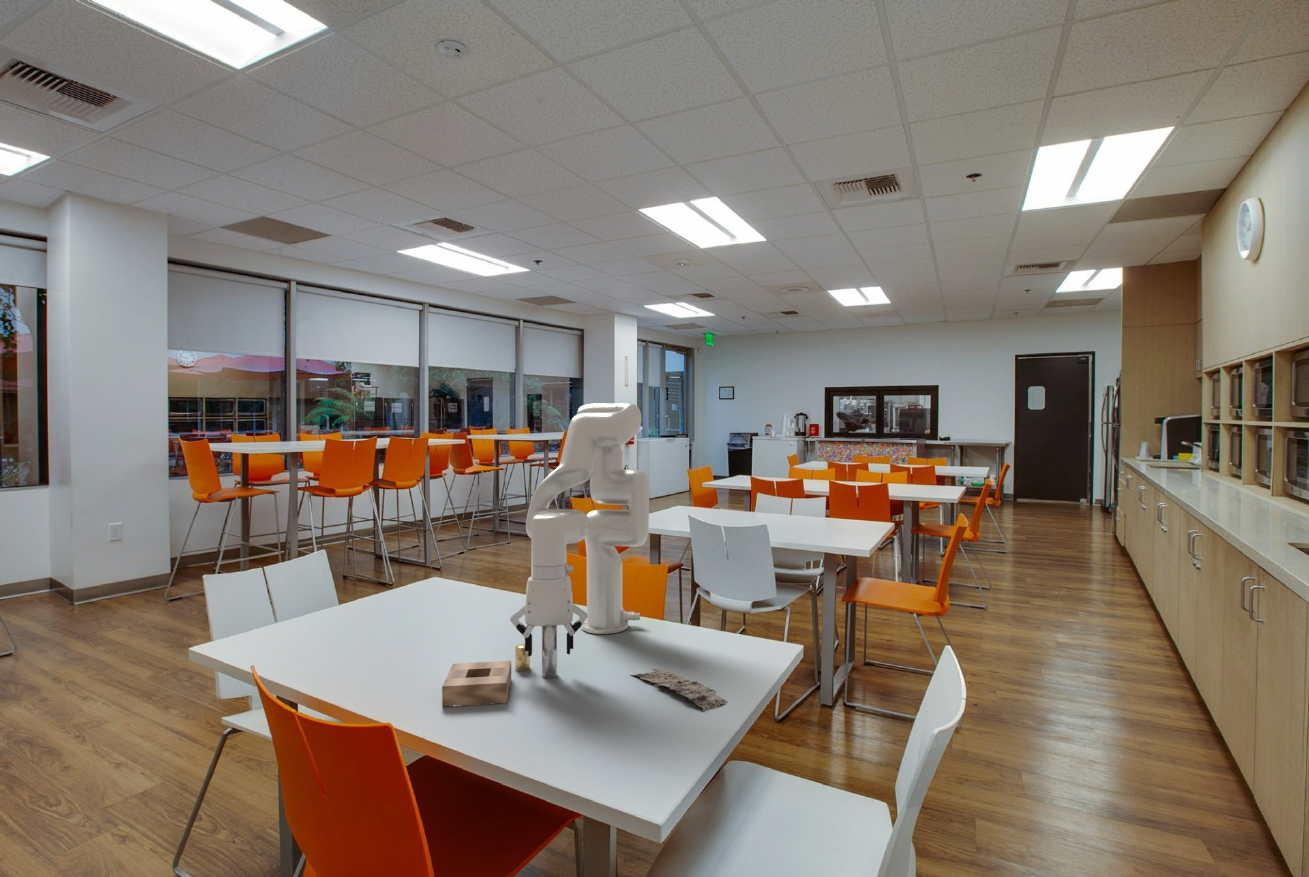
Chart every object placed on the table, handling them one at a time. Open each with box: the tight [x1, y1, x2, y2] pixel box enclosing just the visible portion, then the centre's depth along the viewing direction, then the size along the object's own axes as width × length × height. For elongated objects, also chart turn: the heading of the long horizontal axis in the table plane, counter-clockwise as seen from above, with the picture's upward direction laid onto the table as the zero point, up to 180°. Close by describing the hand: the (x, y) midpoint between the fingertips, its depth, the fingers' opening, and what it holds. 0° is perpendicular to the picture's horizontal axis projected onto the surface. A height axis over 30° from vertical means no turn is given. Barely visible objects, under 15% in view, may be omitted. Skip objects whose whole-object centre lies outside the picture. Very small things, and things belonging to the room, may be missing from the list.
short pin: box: [514, 643, 531, 672], centre depth 142 cm, size 3×3×5 cm
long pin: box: [541, 625, 558, 679], centre depth 138 cm, size 3×3×12 cm
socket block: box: [441, 660, 512, 706], centre depth 129 cm, size 12×12×4 cm
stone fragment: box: [631, 668, 729, 712], centre depth 132 cm, size 25×3×10 cm
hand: (549, 652), depth 138 cm, fingers open, 7 cm apart
